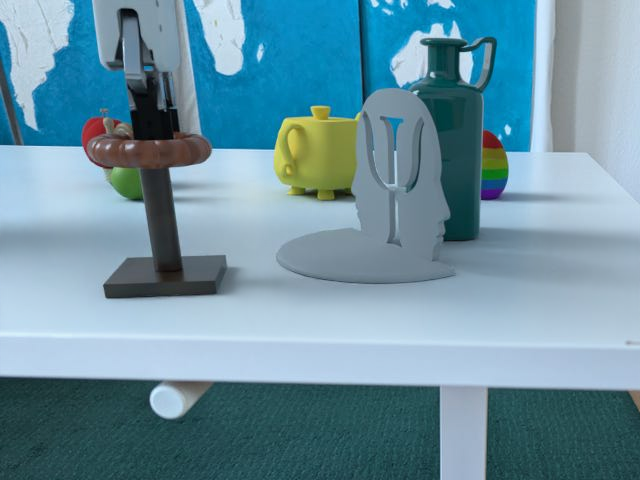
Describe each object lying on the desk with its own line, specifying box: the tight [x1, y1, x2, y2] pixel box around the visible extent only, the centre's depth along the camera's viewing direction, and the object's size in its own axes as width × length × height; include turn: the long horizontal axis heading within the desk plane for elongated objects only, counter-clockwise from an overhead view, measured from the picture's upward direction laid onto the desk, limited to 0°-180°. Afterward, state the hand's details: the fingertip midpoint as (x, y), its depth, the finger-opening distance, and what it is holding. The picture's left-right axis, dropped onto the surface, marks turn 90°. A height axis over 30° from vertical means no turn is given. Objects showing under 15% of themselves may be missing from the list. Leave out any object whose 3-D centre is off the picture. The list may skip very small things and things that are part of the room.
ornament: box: [275, 87, 456, 284], centre depth 71 cm, size 22×13×17 cm, turn 38°
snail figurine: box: [99, 108, 144, 200], centre depth 98 cm, size 5×6×12 cm
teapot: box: [273, 105, 361, 201], centre depth 108 cm, size 14×20×13 cm
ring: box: [87, 131, 213, 169], centre depth 61 cm, size 10×10×2 cm
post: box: [102, 168, 228, 299], centre depth 63 cm, size 9×9×11 cm
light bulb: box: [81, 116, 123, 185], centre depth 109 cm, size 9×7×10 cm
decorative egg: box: [481, 129, 510, 200], centre depth 109 cm, size 8×8×10 cm
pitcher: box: [405, 36, 498, 241], centre depth 82 cm, size 10×8×22 cm
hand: (160, 154), depth 64 cm, fingers closed on ring, 2 cm apart
